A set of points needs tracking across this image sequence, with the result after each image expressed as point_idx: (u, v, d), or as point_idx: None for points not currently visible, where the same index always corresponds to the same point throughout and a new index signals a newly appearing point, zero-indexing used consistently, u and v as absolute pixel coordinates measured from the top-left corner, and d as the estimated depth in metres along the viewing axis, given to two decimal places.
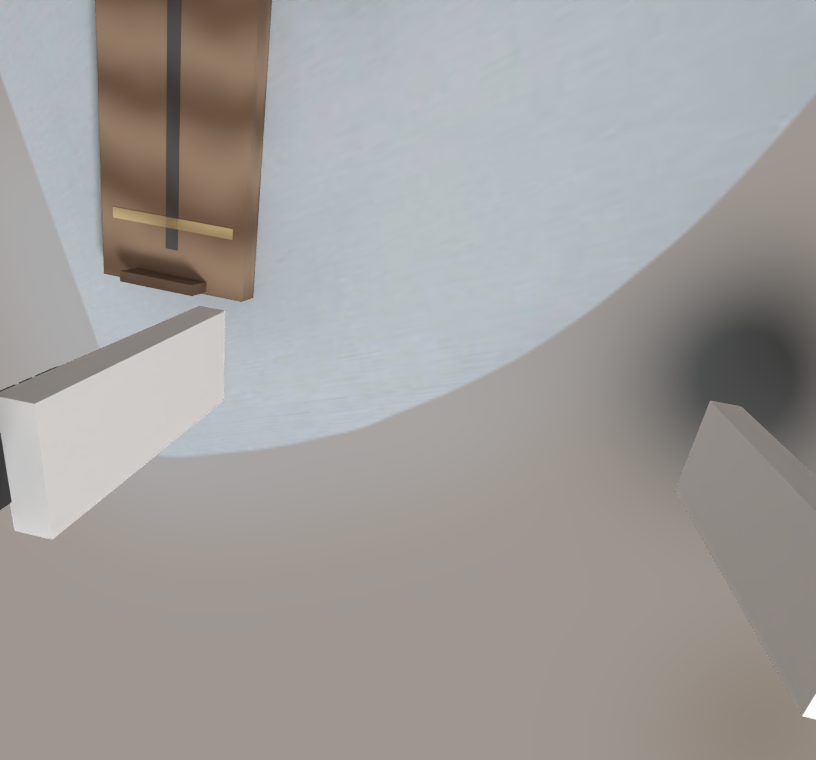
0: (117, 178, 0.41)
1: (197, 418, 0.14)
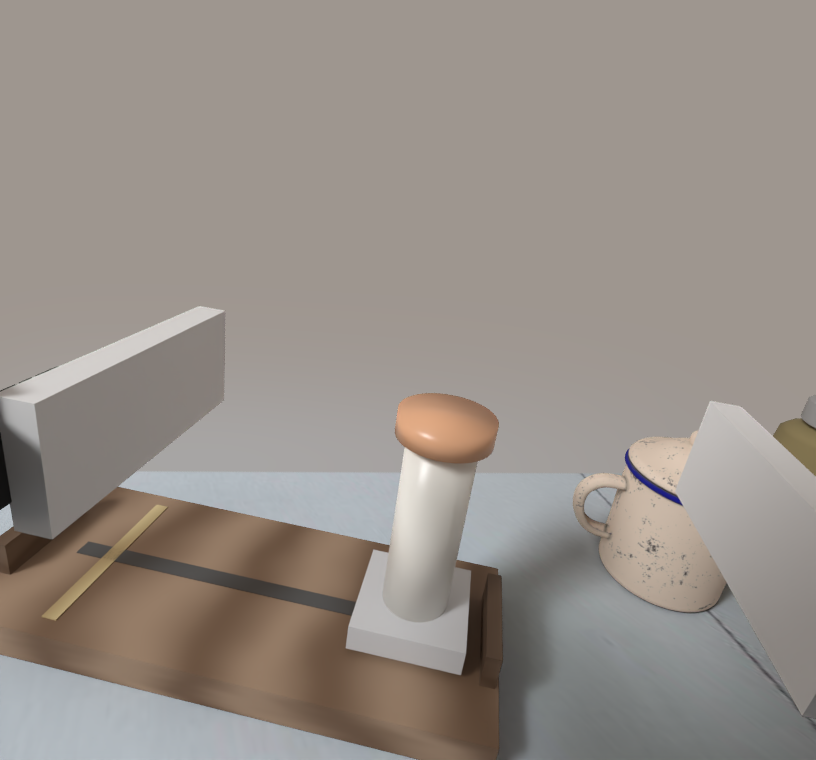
0: (194, 517, 0.36)
1: (197, 418, 0.14)
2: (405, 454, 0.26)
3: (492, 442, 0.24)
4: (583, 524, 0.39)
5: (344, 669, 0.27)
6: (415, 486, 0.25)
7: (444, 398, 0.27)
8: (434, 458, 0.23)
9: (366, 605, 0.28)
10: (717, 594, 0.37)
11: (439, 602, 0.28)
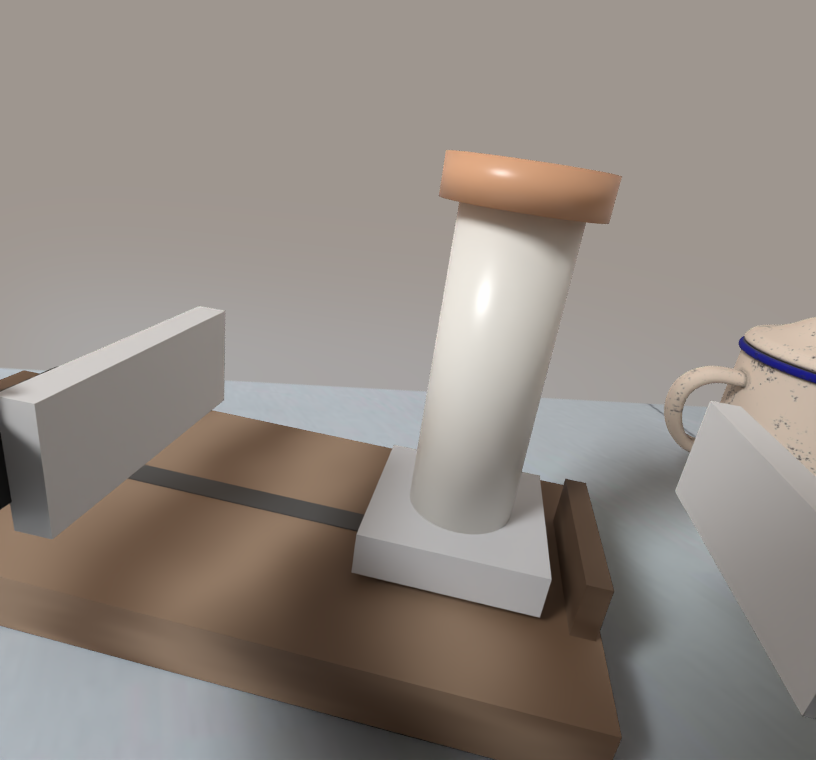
0: None
1: (197, 418, 0.14)
2: (456, 236, 0.15)
3: (613, 196, 0.14)
4: (679, 438, 0.28)
5: (349, 604, 0.16)
6: (475, 284, 0.15)
7: None
8: (516, 208, 0.13)
9: (385, 508, 0.18)
10: None
11: (503, 502, 0.17)
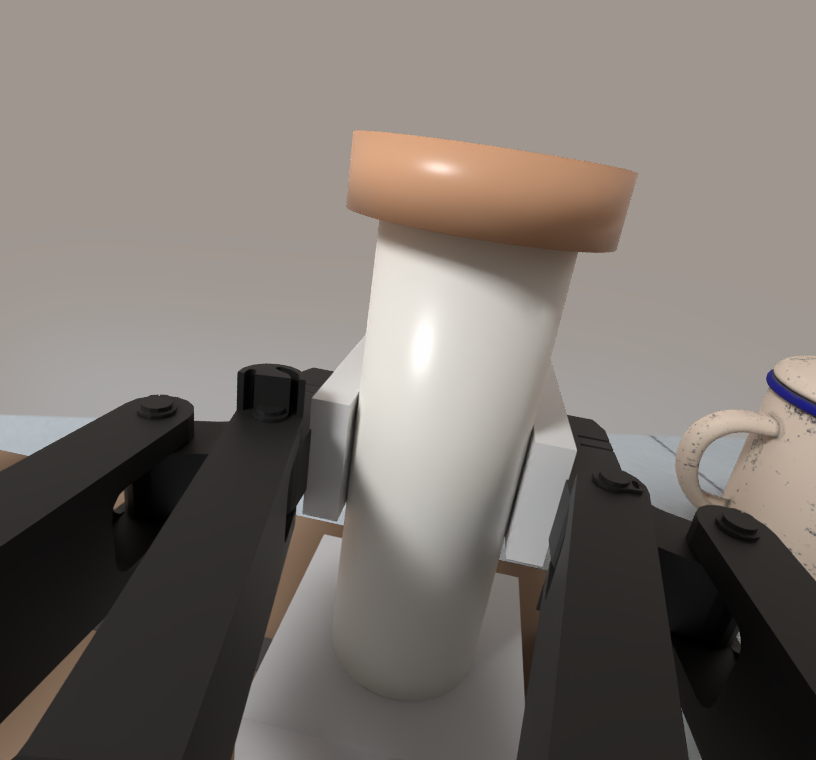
0: None
1: None
2: (375, 269, 0.10)
3: (625, 207, 0.08)
4: (695, 498, 0.23)
5: None
6: (402, 347, 0.09)
7: None
8: (458, 228, 0.07)
9: (290, 657, 0.12)
10: None
11: (459, 654, 0.12)
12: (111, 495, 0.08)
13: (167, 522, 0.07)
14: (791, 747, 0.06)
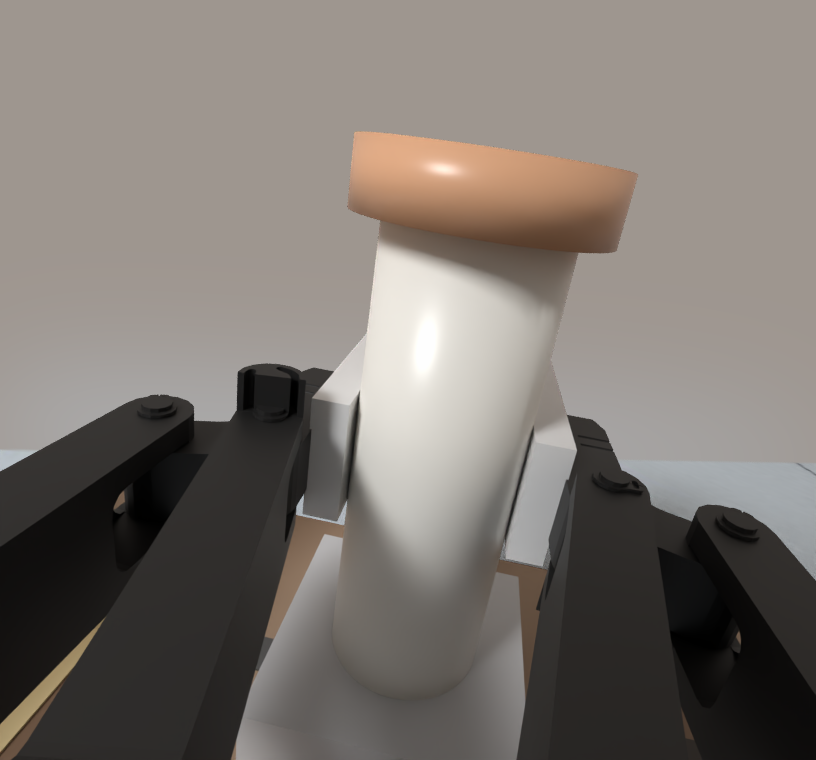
0: None
1: None
2: (376, 269, 0.10)
3: (625, 208, 0.08)
4: None
5: None
6: (403, 347, 0.09)
7: None
8: (459, 229, 0.07)
9: (291, 657, 0.12)
10: None
11: (460, 653, 0.12)
12: (111, 495, 0.08)
13: (167, 522, 0.07)
14: (791, 747, 0.06)
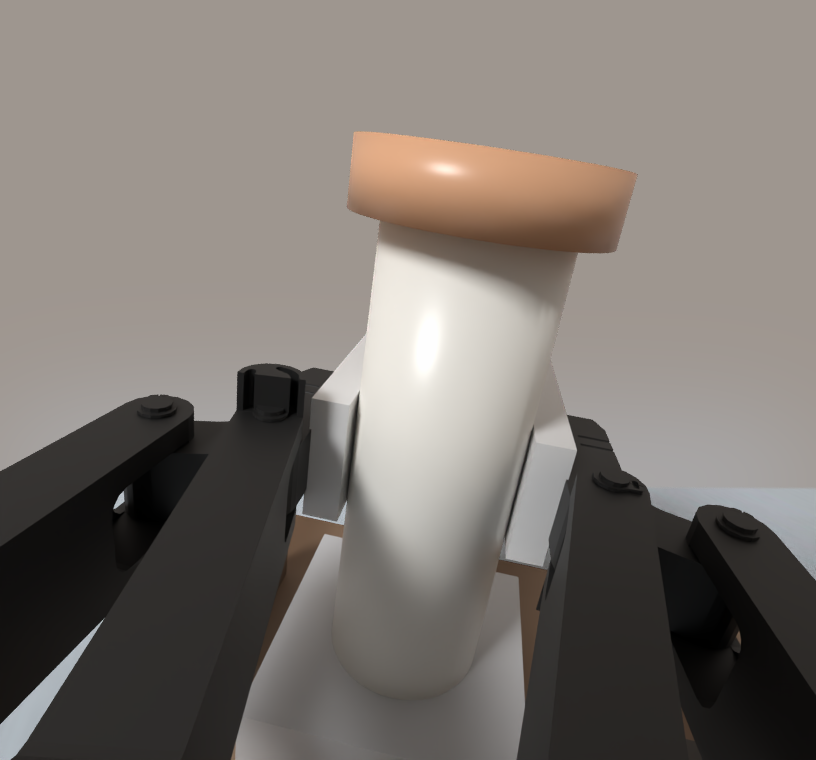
0: None
1: None
2: (375, 269, 0.10)
3: (624, 208, 0.08)
4: None
5: None
6: (402, 348, 0.09)
7: None
8: (458, 229, 0.07)
9: (291, 656, 0.12)
10: None
11: (459, 653, 0.12)
12: (111, 495, 0.08)
13: (167, 522, 0.07)
14: (791, 747, 0.06)
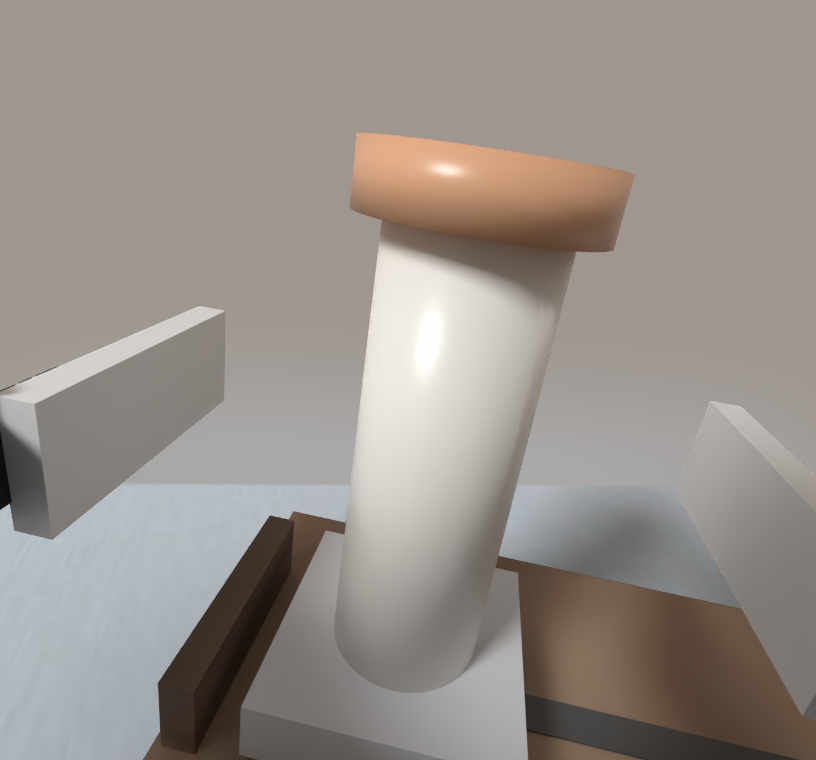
0: None
1: (197, 418, 0.14)
2: (377, 268, 0.10)
3: (622, 207, 0.08)
4: None
5: None
6: (404, 345, 0.09)
7: None
8: (459, 229, 0.08)
9: (294, 650, 0.12)
10: None
11: (460, 646, 0.12)
12: None
13: None
14: None
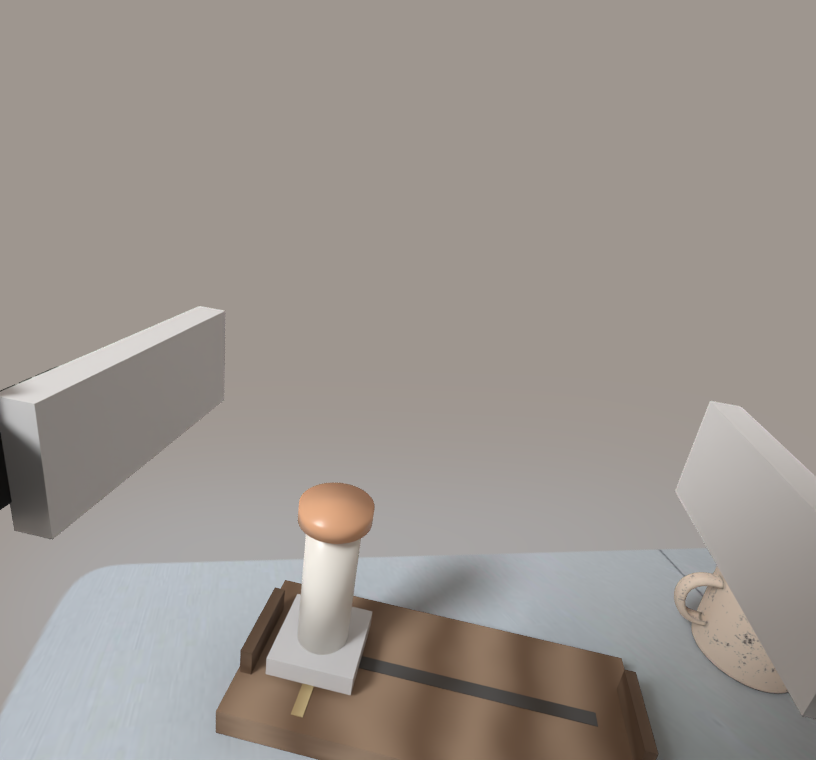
0: None
1: (197, 418, 0.14)
2: None
3: (366, 526, 0.33)
4: (683, 614, 0.46)
5: (531, 758, 0.34)
6: (312, 557, 0.34)
7: (339, 487, 0.36)
8: (320, 540, 0.32)
9: (283, 641, 0.37)
10: None
11: (337, 639, 0.37)
12: None
13: None
14: None
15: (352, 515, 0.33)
